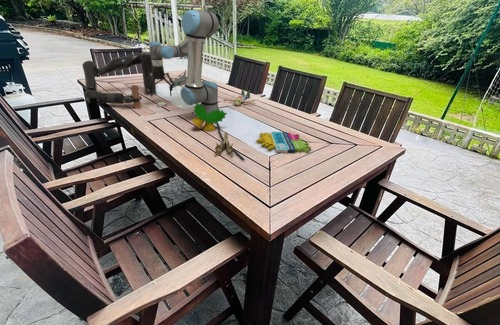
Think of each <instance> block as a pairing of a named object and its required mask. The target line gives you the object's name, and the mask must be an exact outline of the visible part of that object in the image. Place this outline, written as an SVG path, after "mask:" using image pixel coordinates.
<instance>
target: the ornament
mask: <svg viewBox="0 0 500 325" xmlns="http://www.w3.org/2000/svg"><path fill="white" fill-rule="evenodd" d="M219 110H220V108H219V109H217V110H216V111H214V110H212V112H211V113H208V112H206V109H204V106H201V103H197V102H196V104H195V105H193V112H194V113H195V118H192V119H191V122H192V123H193V125H195V127H197V128H198V129H202V130H203V131H206V132H212V131H213V132H214V131H215V130H216V126H215V124H216V123H218V124H219V122H223V119H226V115H227V114H228V113H227V112H224V110H223V109H221V110H220V111H219ZM207 113H208V115H207ZM214 123H215V124H214Z"/></svg>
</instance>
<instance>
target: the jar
mask: <svg viewBox="0 0 500 325" xmlns="http://www.w3.org/2000/svg"><path fill="white" fill-rule="evenodd" d="M130 87H131V88H130V90H131V95H132V97H133V99H139V102H132V104H133V108H134V109H141V108H142V102H141V100H140V97H141V96H140V95H141V94H140V89H139V86H138V84H137V85H136V84H134V85H133V84H132V85H130Z"/></svg>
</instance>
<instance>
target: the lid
mask: <svg viewBox="0 0 500 325" xmlns="http://www.w3.org/2000/svg"><path fill="white" fill-rule="evenodd" d="M157 106H158V107H161V108H163V107H166V106H167V104H166V102H164V101H161V102H158V103H157Z"/></svg>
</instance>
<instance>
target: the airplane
mask: <svg viewBox="0 0 500 325" xmlns="http://www.w3.org/2000/svg"><path fill="white" fill-rule="evenodd" d="M178 77H179V78H178ZM178 77H170V78H171V80H172V81H173V83H174V86H172V88H174V87H176V86H178V85H183V84H185V81H187V69H185V70H184V72H183V74H182V75H178ZM165 79H169V78H168V76H166V77H165Z"/></svg>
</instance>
